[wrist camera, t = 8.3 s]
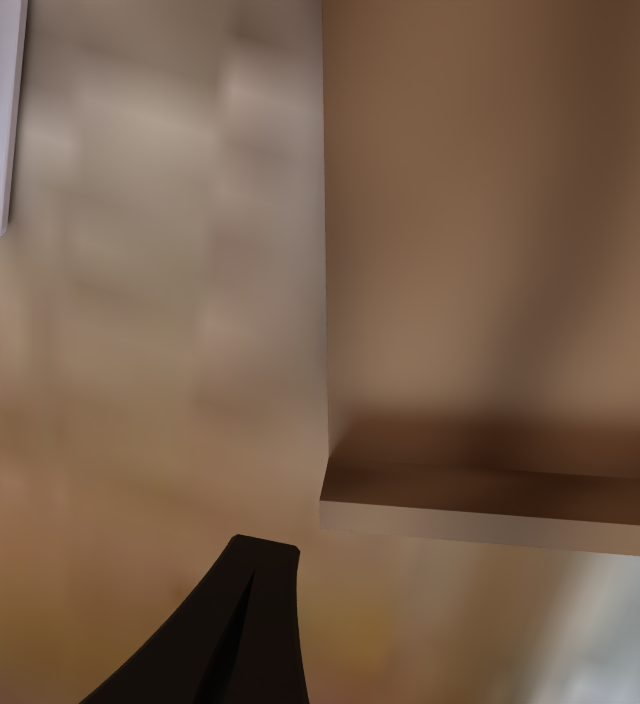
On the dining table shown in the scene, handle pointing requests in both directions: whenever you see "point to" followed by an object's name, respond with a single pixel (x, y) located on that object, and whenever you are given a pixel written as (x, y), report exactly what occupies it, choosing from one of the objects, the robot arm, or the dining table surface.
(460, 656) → the dining table surface
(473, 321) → the walnut box
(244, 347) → the dining table surface
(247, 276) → the dining table surface
